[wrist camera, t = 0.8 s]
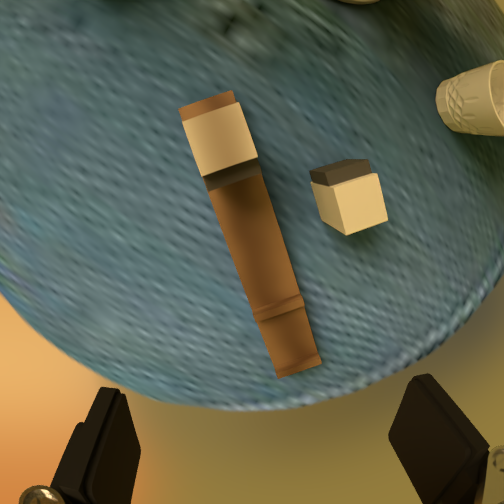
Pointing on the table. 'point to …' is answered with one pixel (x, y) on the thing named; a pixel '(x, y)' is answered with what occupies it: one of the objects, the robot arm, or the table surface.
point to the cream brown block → (348, 195)
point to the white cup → (474, 100)
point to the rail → (250, 229)
